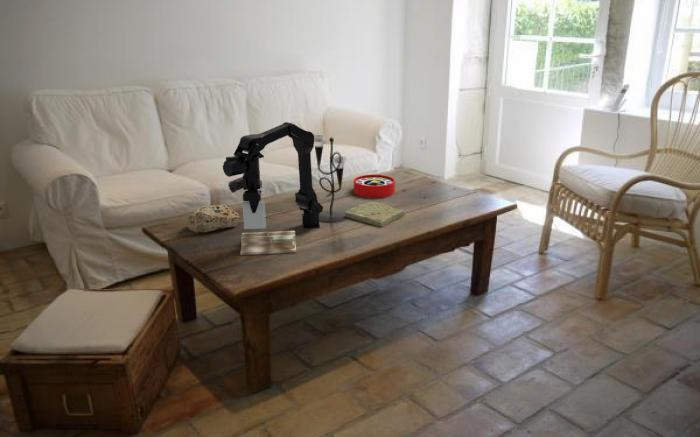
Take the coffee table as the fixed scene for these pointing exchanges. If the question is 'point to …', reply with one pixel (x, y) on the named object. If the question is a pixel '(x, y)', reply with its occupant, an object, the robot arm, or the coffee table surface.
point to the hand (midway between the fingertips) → (254, 212)
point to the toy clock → (374, 186)
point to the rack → (263, 243)
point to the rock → (212, 218)
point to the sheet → (254, 216)
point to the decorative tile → (375, 213)
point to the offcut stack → (282, 242)
